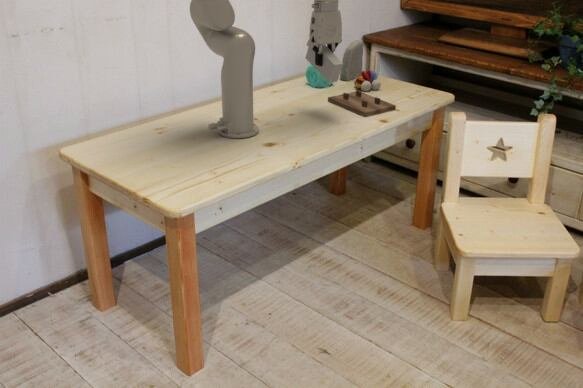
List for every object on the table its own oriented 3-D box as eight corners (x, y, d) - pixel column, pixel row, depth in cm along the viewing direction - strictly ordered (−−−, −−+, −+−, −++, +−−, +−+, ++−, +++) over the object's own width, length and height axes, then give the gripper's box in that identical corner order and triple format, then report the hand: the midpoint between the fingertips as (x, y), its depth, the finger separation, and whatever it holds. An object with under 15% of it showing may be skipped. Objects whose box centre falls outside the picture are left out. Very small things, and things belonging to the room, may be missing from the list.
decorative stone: (349, 82, 247) (351, 44, 240) (336, 79, 250) (338, 41, 243) (363, 76, 255) (366, 39, 248) (351, 73, 258) (353, 37, 251)
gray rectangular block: (328, 83, 203) (334, 65, 198) (305, 57, 210) (310, 39, 205) (337, 81, 204) (343, 63, 200) (313, 56, 211) (319, 38, 207)
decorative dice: (320, 80, 248) (321, 60, 245) (334, 85, 243) (335, 65, 239) (305, 84, 244) (305, 63, 240) (319, 89, 238) (319, 68, 235)
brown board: (364, 117, 210) (365, 107, 209) (327, 101, 225) (328, 91, 223) (395, 109, 218) (396, 99, 216) (358, 94, 232) (358, 85, 231)
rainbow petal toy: (350, 87, 241) (351, 68, 238) (372, 84, 245) (373, 65, 242) (361, 93, 235) (362, 74, 231) (383, 90, 238) (385, 71, 235)
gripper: (311, 10, 190) (310, 70, 198) (354, 5, 198) (351, 63, 207) (297, 6, 195) (296, 65, 204) (339, 2, 204) (336, 58, 212)
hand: (323, 63), depth 205 cm, fingers closed on gray rectangular block, 3 cm apart
